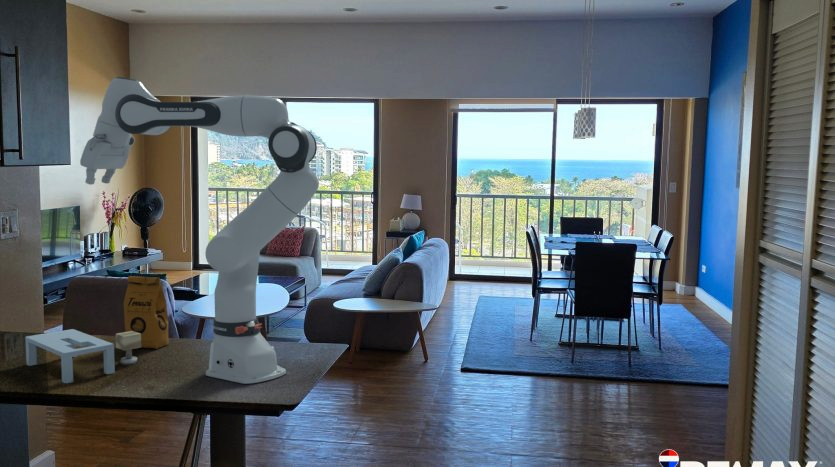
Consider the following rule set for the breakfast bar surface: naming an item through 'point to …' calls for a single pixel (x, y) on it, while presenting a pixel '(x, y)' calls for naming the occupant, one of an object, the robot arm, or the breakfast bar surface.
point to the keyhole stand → (69, 349)
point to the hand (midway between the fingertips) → (97, 183)
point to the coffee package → (146, 311)
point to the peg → (128, 345)
